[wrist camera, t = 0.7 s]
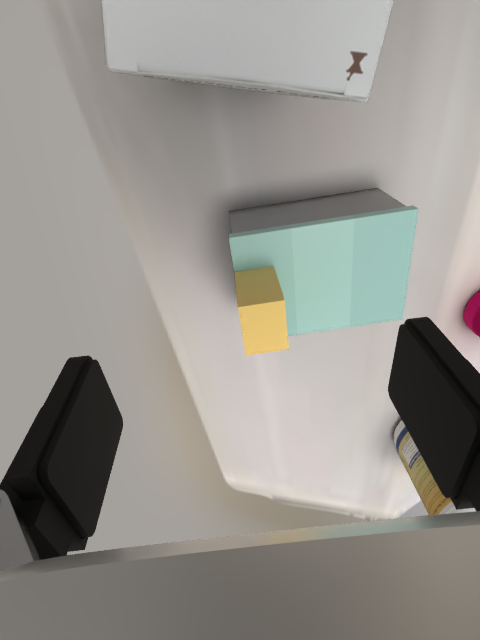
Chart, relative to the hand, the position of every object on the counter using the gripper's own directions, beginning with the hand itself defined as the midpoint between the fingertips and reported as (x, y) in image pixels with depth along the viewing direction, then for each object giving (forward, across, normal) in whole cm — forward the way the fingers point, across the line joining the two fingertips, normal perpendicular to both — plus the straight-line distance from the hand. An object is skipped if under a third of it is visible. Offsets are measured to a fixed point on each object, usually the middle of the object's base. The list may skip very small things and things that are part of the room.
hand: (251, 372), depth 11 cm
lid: (+17, -6, +6) cm, 19 cm away
